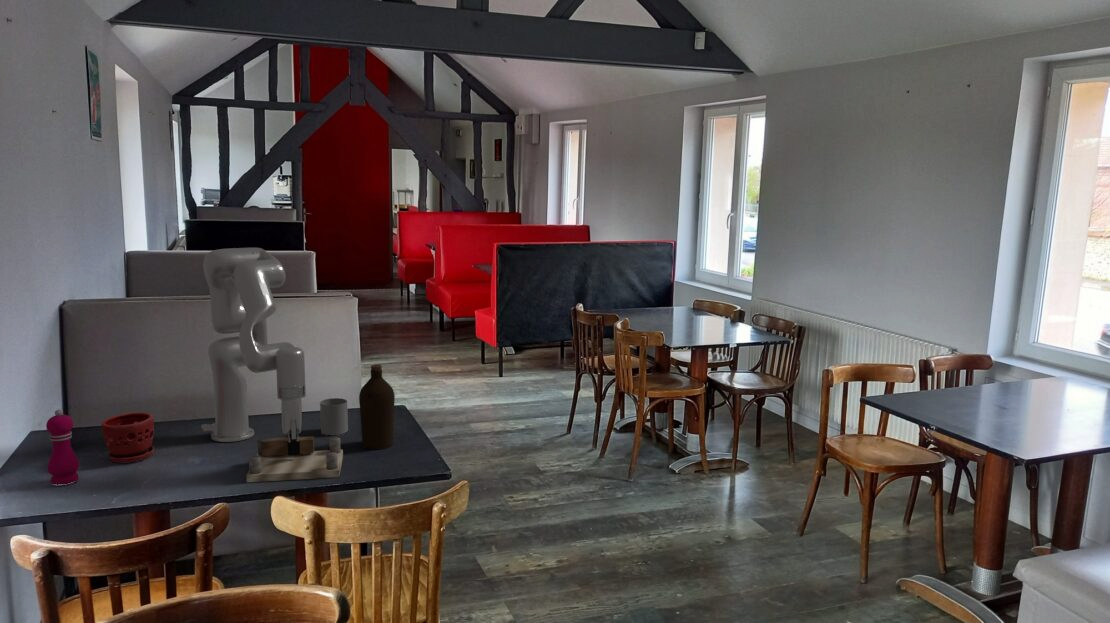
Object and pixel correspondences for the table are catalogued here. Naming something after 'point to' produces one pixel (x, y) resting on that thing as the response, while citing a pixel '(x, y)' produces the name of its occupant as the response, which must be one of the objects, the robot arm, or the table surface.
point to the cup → (334, 416)
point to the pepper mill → (62, 450)
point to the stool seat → (297, 465)
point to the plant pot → (129, 437)
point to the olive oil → (377, 411)
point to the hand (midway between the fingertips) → (293, 454)
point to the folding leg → (283, 446)
